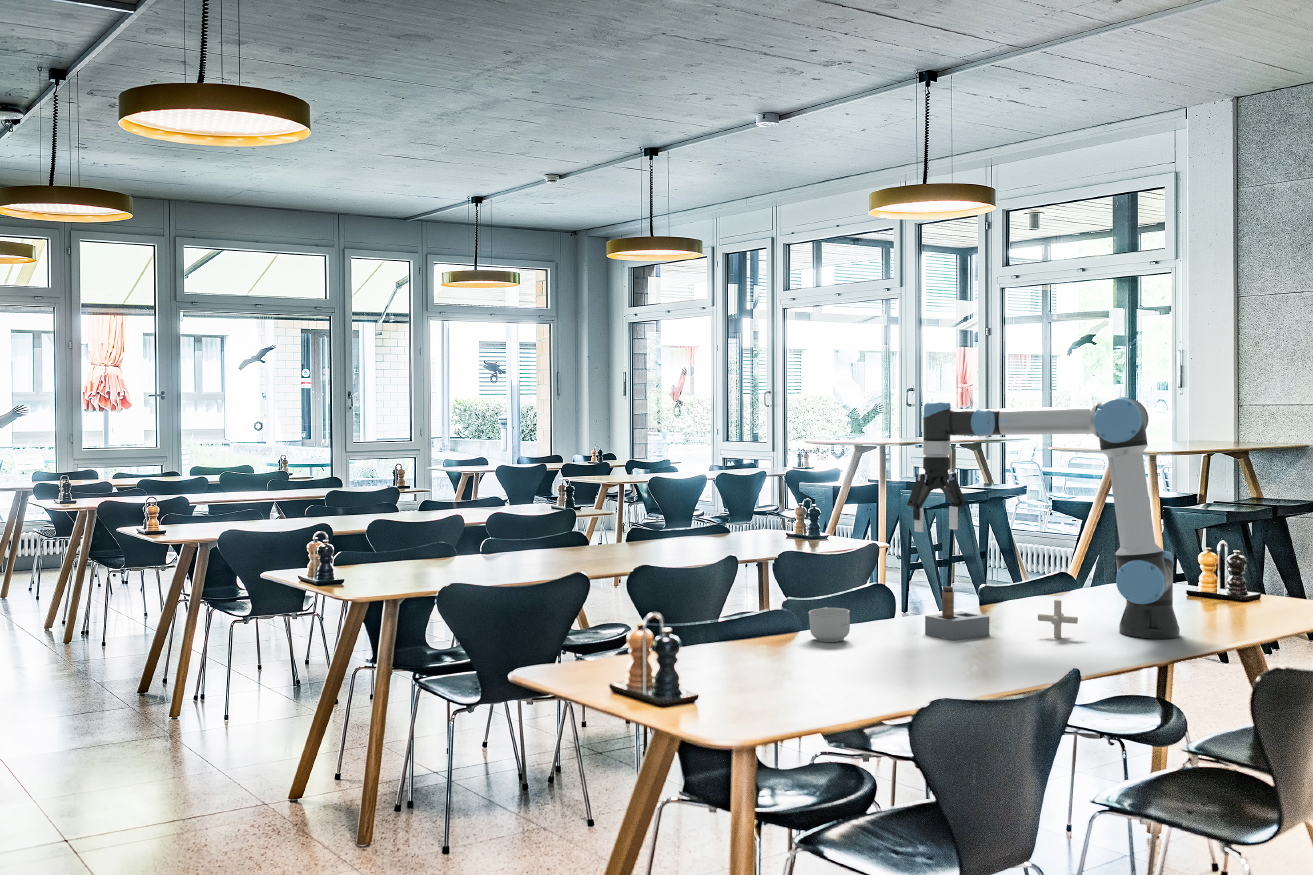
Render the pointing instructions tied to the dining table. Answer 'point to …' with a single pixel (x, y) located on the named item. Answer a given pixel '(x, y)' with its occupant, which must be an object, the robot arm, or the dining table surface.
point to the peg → (948, 603)
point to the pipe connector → (1057, 618)
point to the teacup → (829, 624)
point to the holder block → (957, 625)
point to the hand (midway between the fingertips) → (936, 530)
